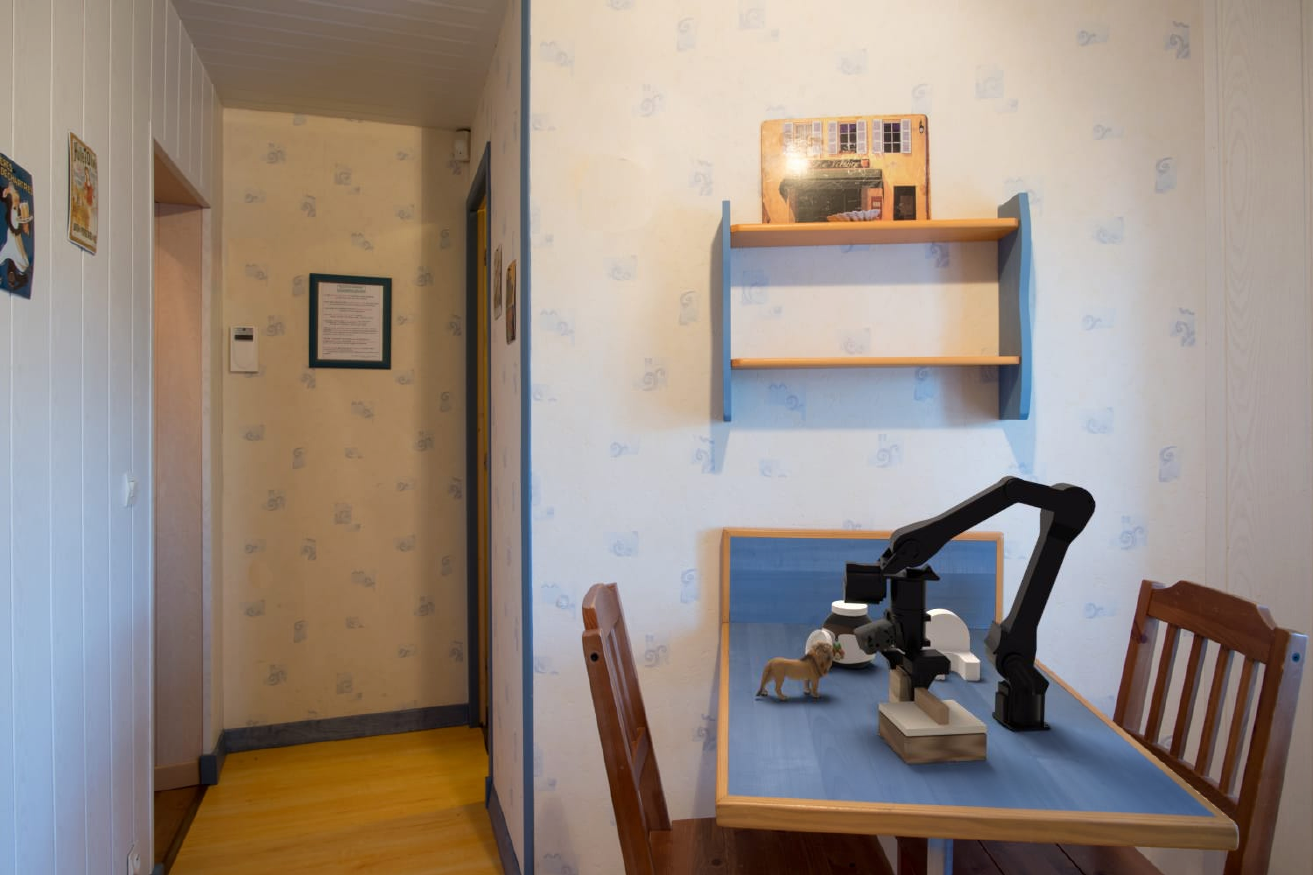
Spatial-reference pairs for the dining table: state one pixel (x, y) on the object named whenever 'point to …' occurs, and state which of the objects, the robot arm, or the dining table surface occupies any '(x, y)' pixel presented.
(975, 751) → the wooden box
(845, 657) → the spread jar
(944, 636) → the u-slot stand
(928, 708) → the lid
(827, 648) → the lion figurine
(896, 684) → the wooden block
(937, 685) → the dining table surface
